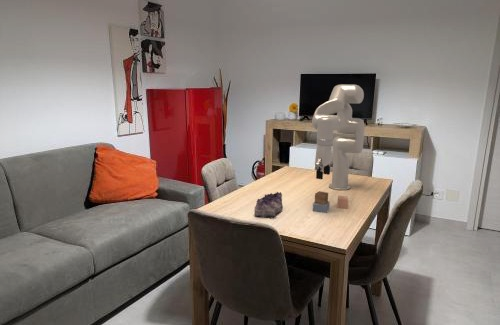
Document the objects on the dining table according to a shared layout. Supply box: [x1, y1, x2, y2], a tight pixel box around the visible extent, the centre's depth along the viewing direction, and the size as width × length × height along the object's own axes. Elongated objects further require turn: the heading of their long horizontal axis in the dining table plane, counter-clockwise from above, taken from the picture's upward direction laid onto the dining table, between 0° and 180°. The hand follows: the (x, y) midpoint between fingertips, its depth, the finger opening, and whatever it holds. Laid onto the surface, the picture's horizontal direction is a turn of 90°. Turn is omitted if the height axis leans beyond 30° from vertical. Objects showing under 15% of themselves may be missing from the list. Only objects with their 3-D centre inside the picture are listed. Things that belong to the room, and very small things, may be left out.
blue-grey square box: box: [312, 200, 330, 214], centre depth 179 cm, size 7×7×4 cm
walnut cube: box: [314, 191, 329, 205], centre depth 178 cm, size 5×5×5 cm
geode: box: [253, 191, 283, 218], centre depth 175 cm, size 20×12×10 cm, turn 155°
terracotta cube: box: [336, 195, 349, 210], centre depth 184 cm, size 5×5×5 cm
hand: (323, 176), depth 176 cm, fingers open, 9 cm apart
